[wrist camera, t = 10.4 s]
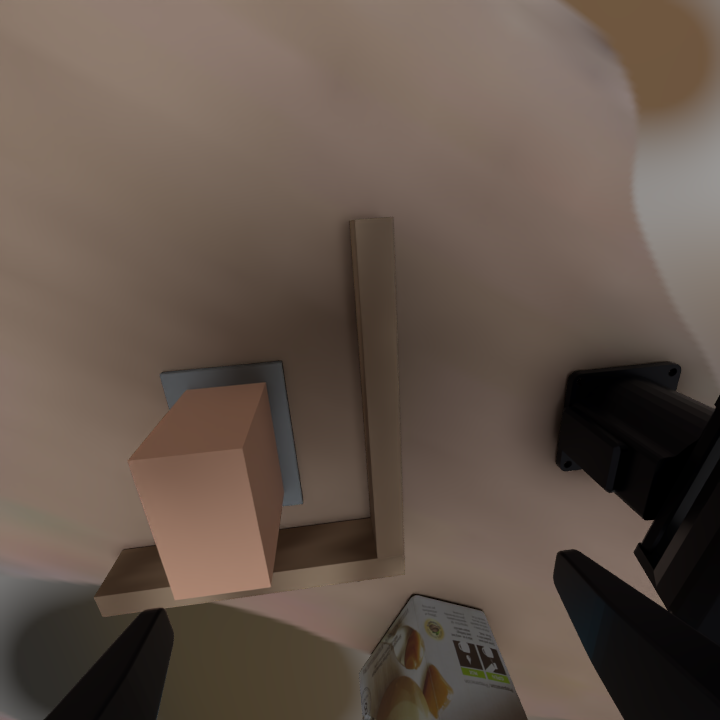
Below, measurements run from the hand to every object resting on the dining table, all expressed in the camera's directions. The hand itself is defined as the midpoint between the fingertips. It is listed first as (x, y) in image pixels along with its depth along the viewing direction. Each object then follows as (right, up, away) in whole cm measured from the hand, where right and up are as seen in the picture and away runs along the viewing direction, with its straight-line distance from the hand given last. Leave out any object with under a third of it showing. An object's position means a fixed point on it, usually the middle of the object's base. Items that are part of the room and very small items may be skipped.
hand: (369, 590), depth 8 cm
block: (-7, +1, +12) cm, 13 cm away
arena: (-7, +3, +11) cm, 13 cm away
